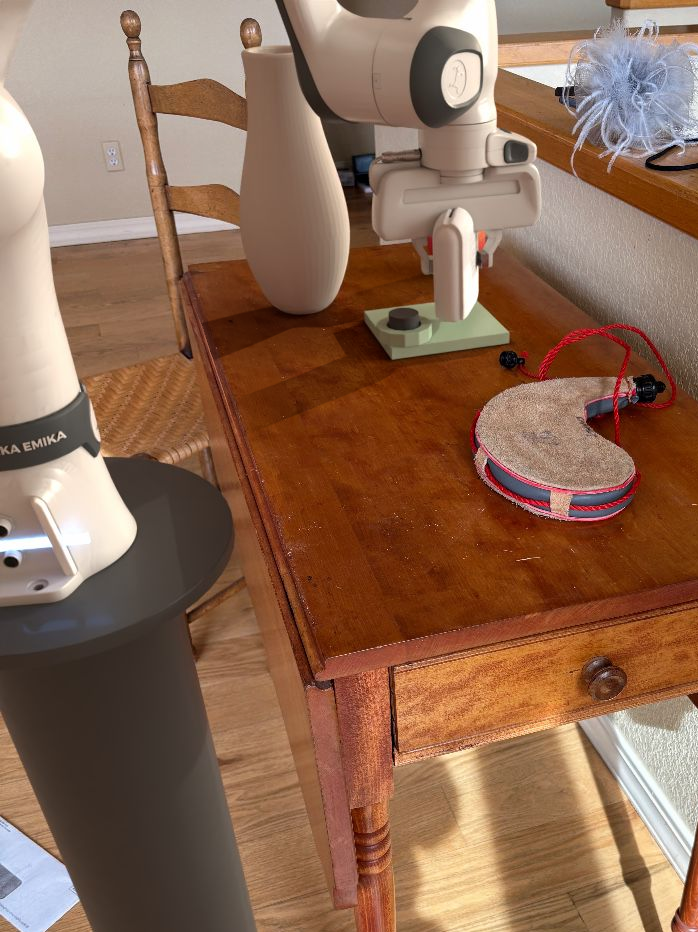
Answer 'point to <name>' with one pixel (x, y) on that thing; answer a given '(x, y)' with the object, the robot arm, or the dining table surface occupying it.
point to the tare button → (403, 319)
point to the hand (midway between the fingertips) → (457, 269)
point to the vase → (289, 190)
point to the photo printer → (454, 265)
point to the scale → (436, 332)
